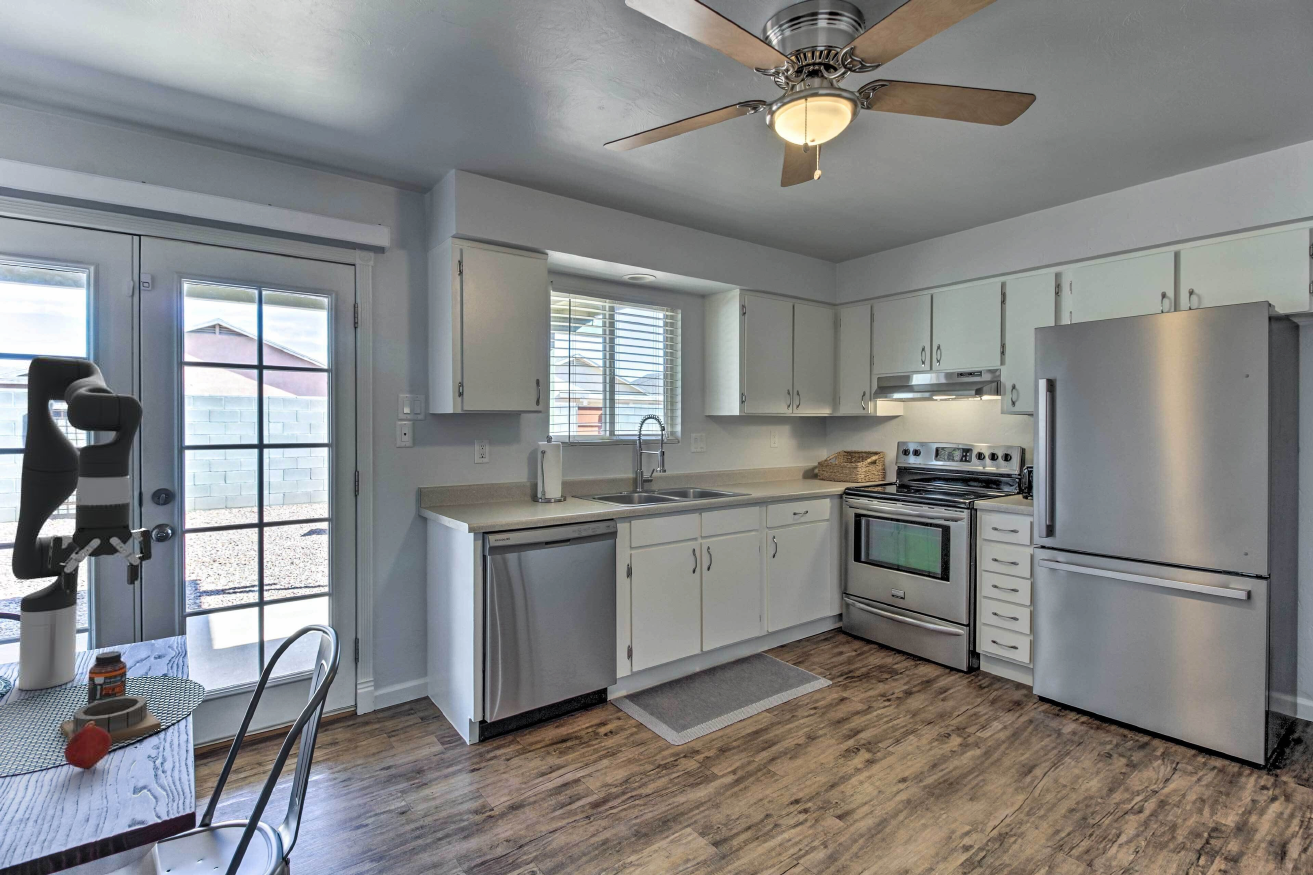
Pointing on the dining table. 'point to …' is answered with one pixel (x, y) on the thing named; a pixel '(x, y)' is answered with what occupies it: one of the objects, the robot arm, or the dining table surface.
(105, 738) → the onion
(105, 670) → the supplement bottle
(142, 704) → the ring holder
